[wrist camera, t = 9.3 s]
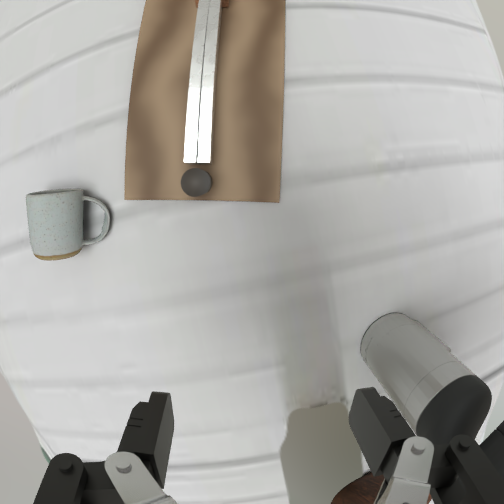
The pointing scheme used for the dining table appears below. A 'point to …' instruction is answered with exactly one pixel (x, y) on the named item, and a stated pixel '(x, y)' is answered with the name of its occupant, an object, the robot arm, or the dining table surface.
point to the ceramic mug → (59, 223)
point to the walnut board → (226, 105)
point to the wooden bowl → (362, 491)
